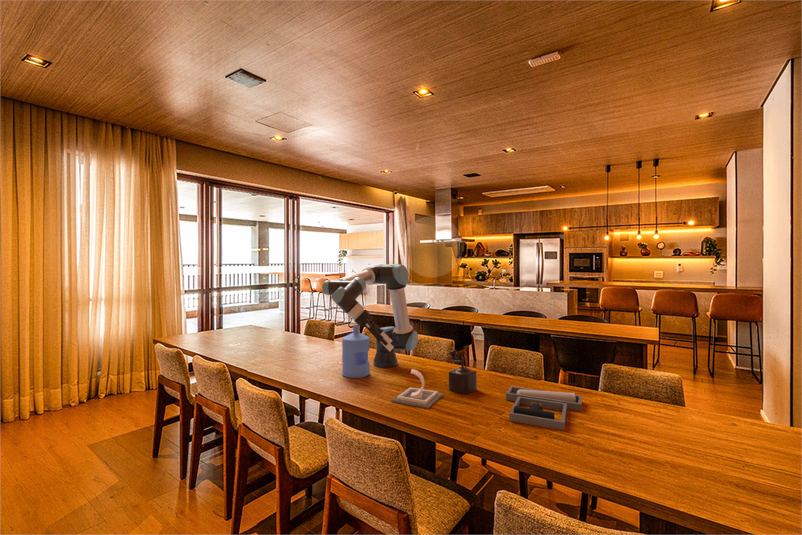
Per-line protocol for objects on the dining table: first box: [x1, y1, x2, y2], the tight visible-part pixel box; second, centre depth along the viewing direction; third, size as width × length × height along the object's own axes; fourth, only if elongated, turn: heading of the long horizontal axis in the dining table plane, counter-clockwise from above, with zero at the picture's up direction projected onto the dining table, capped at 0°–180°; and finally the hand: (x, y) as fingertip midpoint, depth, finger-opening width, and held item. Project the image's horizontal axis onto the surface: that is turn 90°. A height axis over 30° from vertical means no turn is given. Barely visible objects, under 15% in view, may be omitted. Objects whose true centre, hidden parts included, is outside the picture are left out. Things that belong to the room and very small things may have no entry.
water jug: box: [341, 324, 371, 379], centre depth 214 cm, size 16×16×28 cm
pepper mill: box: [448, 349, 478, 395], centre depth 189 cm, size 16×11×18 cm
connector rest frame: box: [508, 396, 568, 431], centre depth 155 cm, size 21×20×3 cm
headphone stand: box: [410, 368, 425, 398], centre depth 175 cm, size 5×6×12 cm
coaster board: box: [391, 386, 444, 409], centre depth 175 cm, size 18×18×2 cm
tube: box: [517, 389, 576, 403], centre depth 171 cm, size 5×5×25 cm
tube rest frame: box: [505, 385, 583, 412], centre depth 172 cm, size 11×31×3 cm, turn 64°
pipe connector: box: [514, 402, 556, 420], centre depth 153 cm, size 12×5×15 cm
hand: (391, 346), depth 177 cm, fingers open, 13 cm apart
